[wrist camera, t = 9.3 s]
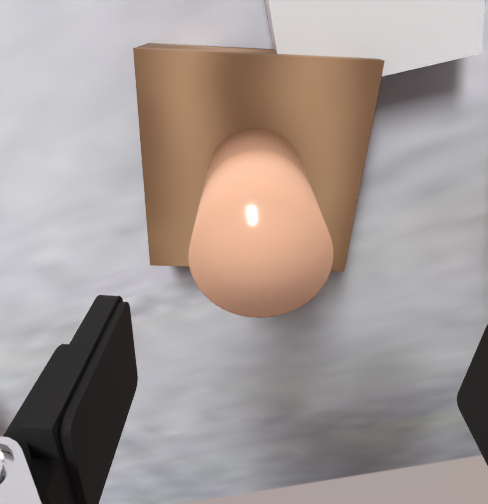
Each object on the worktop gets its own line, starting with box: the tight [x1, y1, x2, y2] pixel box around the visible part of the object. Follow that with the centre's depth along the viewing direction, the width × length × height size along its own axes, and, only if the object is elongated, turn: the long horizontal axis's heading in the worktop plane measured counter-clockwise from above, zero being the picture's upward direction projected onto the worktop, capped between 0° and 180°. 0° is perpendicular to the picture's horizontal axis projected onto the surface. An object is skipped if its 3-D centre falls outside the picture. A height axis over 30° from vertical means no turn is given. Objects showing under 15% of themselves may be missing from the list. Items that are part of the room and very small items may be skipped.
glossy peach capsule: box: [188, 128, 333, 318], centre depth 19 cm, size 5×5×9 cm
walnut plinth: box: [133, 43, 385, 271], centre depth 25 cm, size 12×12×4 cm
